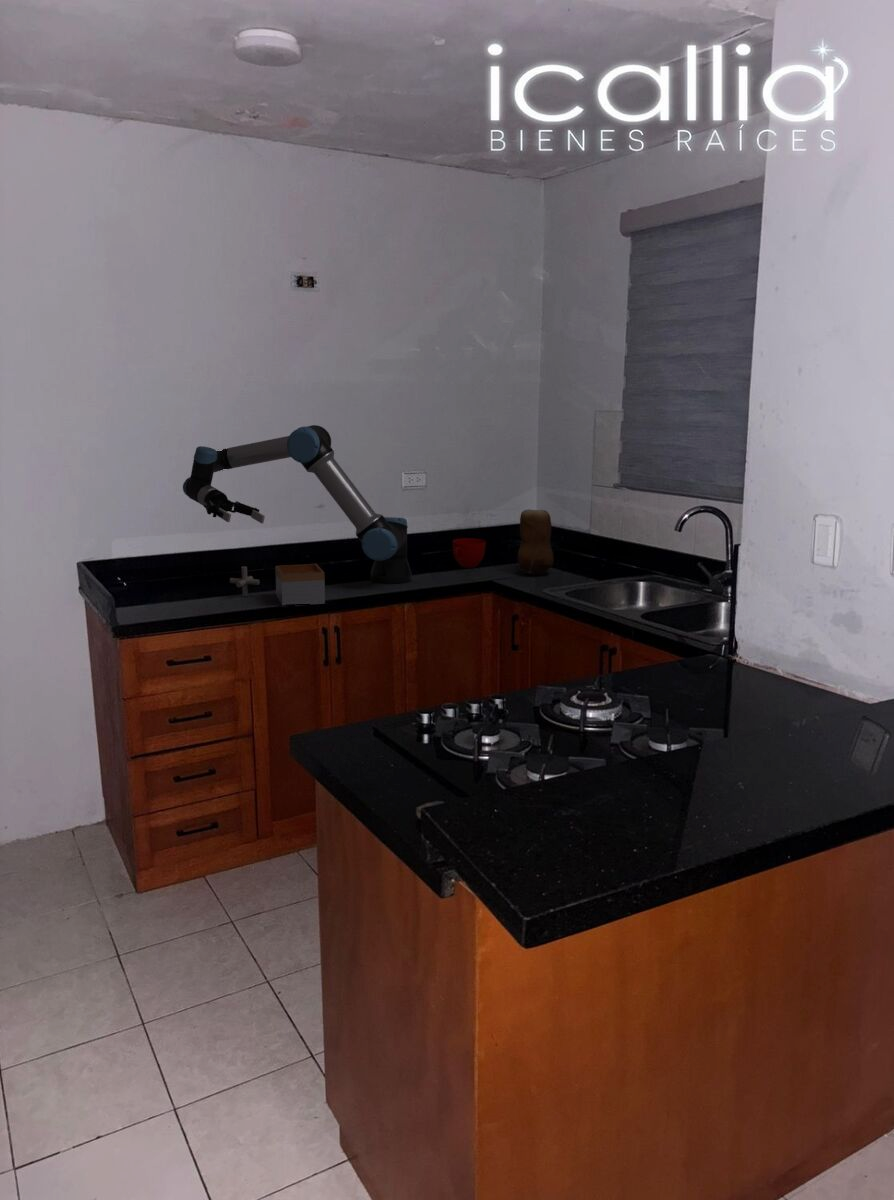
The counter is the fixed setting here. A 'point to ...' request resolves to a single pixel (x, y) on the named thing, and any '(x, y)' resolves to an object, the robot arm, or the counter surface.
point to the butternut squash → (535, 542)
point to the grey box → (300, 584)
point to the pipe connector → (244, 581)
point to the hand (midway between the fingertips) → (246, 519)
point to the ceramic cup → (468, 551)
